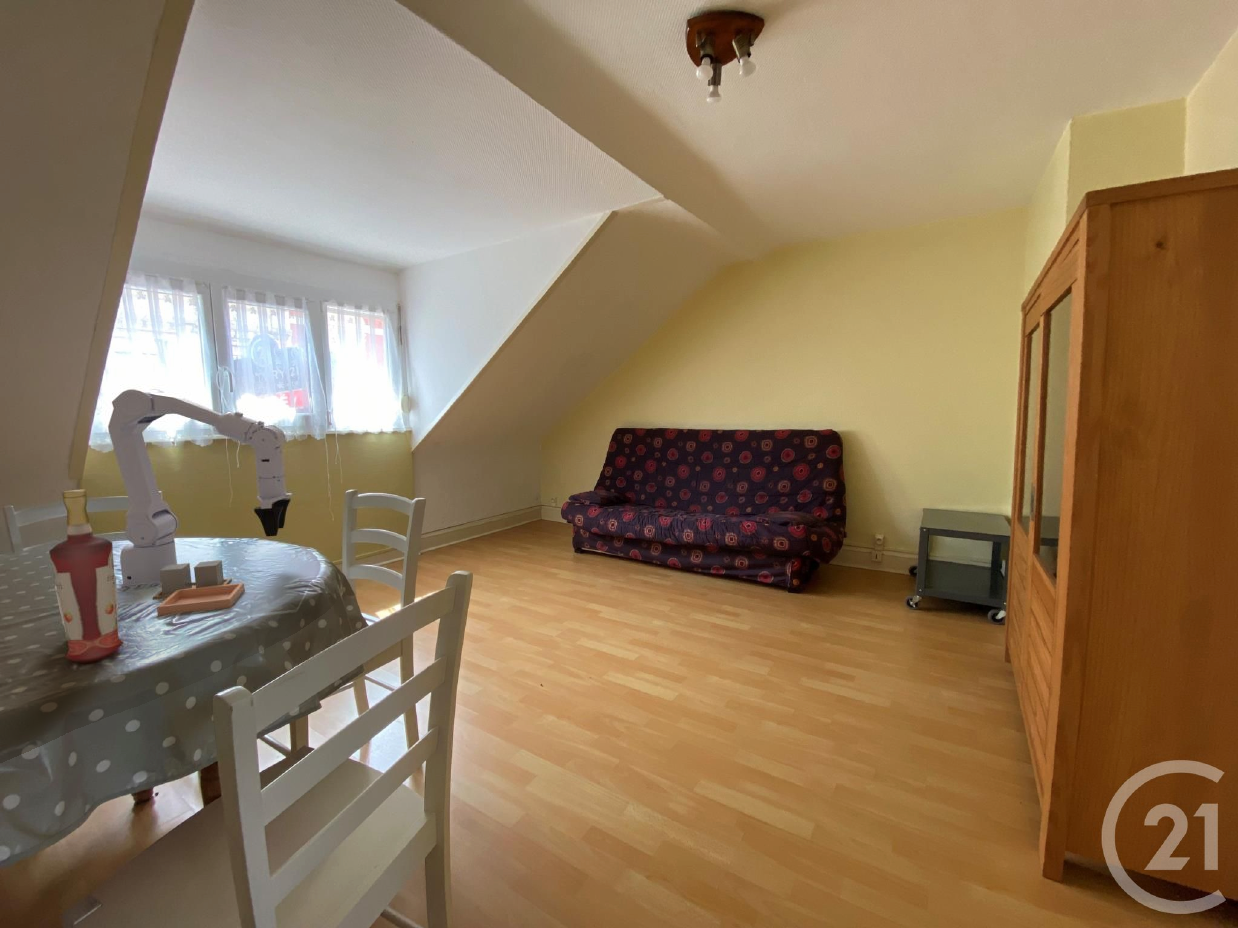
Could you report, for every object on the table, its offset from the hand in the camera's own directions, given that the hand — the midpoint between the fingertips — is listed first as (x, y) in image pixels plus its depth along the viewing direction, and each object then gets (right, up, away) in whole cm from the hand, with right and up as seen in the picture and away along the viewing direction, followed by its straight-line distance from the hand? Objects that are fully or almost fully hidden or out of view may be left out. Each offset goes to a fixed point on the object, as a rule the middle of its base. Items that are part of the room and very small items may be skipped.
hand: (275, 531), depth 133 cm
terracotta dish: (-2, -13, -20) cm, 23 cm away
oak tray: (-10, -12, -12) cm, 20 cm away
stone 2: (-7, -11, -11) cm, 17 cm away
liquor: (-3, -16, -42) cm, 45 cm away
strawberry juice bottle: (-12, -15, -33) cm, 38 cm away
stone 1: (-13, -11, -14) cm, 22 cm away
